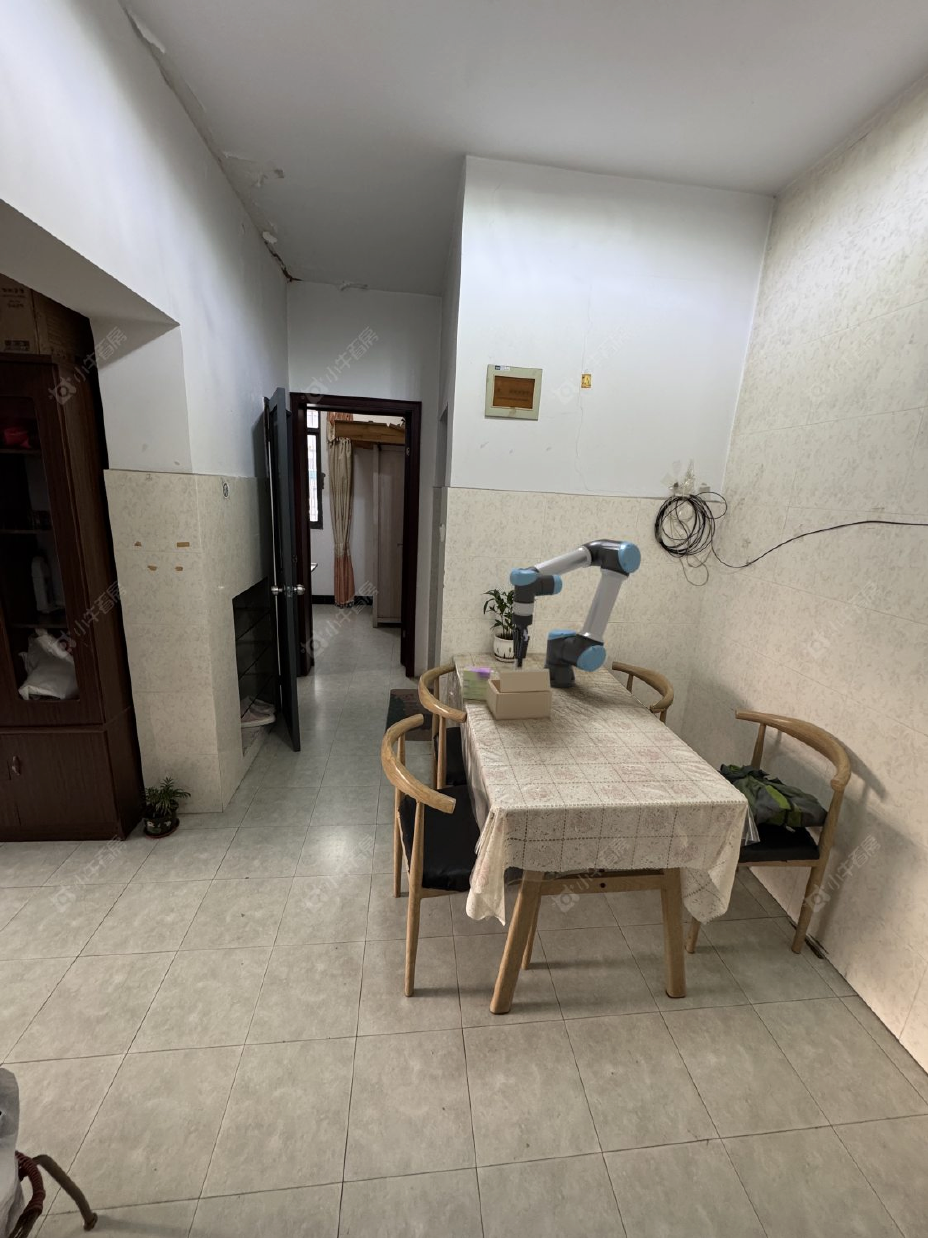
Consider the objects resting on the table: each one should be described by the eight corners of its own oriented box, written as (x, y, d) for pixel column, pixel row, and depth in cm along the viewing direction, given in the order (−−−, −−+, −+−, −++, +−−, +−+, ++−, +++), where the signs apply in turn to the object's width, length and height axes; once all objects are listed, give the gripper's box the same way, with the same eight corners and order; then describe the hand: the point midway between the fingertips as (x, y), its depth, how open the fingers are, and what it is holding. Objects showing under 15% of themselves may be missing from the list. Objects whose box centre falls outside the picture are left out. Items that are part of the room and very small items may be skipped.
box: (488, 695, 201) (490, 667, 198) (488, 701, 195) (489, 672, 192) (463, 693, 201) (464, 665, 198) (461, 698, 196) (463, 670, 193)
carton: (537, 701, 197) (539, 677, 194) (550, 717, 183) (553, 692, 181) (485, 703, 192) (486, 679, 190) (495, 720, 179) (496, 694, 176)
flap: (548, 668, 182) (549, 668, 181) (550, 690, 180) (550, 690, 180) (499, 670, 178) (499, 670, 177) (500, 692, 176) (501, 692, 176)
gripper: (507, 608, 186) (503, 668, 192) (518, 617, 174) (513, 681, 180) (526, 608, 188) (521, 668, 194) (538, 617, 176) (533, 680, 182)
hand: (517, 674), depth 187 cm, fingers closed
